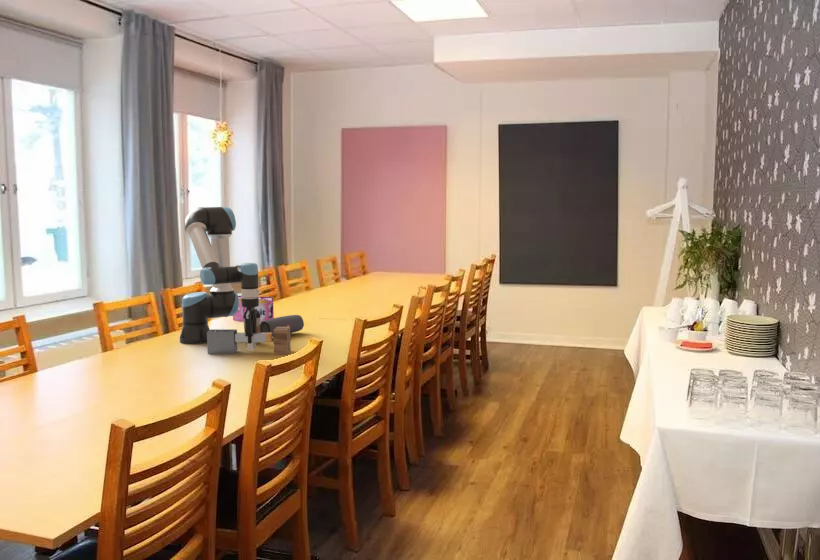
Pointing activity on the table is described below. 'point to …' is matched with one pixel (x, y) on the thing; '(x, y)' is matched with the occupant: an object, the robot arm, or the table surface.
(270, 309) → the gum box
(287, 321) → the bluetooth speaker
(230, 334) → the grey rectangular block
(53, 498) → the table surface
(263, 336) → the orange-tipped grey stick
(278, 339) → the socket
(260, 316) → the coffee cup
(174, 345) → the table surface
